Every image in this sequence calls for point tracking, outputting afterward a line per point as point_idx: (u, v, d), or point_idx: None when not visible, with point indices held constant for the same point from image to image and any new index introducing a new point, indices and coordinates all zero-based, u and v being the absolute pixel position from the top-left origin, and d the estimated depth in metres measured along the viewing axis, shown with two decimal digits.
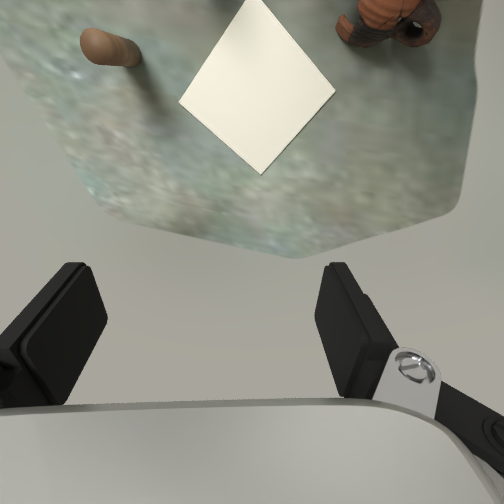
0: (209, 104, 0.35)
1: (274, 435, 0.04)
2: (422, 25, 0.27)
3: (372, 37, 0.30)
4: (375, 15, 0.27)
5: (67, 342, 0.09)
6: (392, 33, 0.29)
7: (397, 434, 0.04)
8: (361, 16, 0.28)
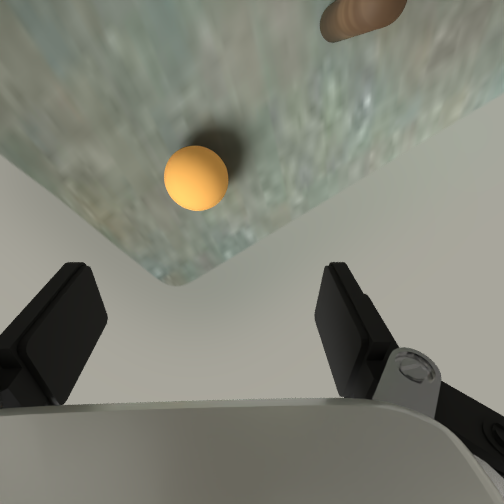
0: None
1: (274, 436, 0.04)
2: None
3: None
4: None
5: (67, 342, 0.09)
6: None
7: (397, 434, 0.04)
8: None
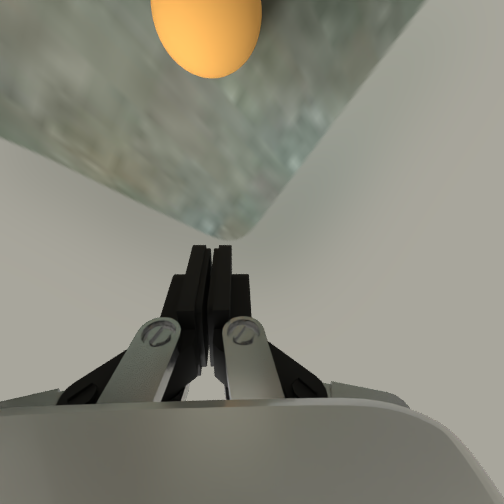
0: None
1: (274, 436, 0.04)
2: None
3: None
4: None
5: None
6: None
7: (397, 434, 0.04)
8: None
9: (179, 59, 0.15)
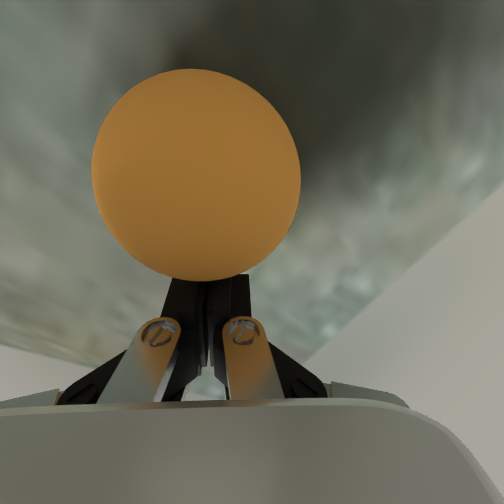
0: None
1: (274, 436, 0.04)
2: None
3: None
4: None
5: None
6: None
7: (397, 434, 0.04)
8: None
9: (147, 266, 0.08)
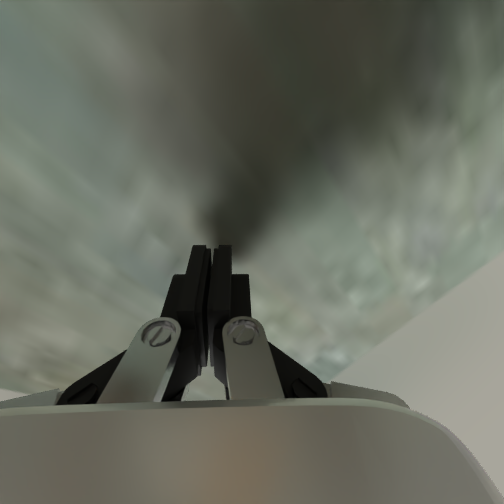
0: None
1: (274, 435, 0.04)
2: None
3: None
4: None
5: None
6: None
7: (397, 434, 0.04)
8: None
9: None
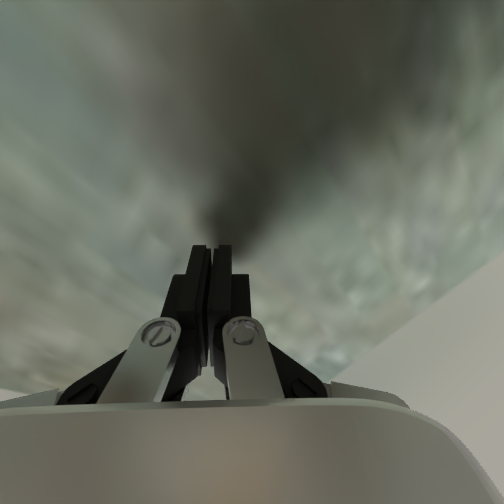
0: None
1: (274, 435, 0.04)
2: None
3: None
4: None
5: None
6: None
7: (397, 434, 0.04)
8: None
9: None
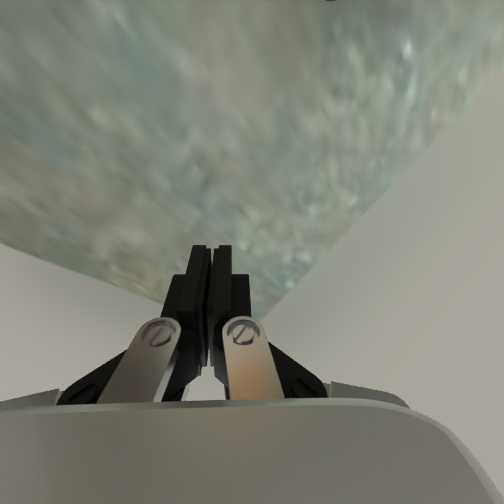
0: None
1: (274, 436, 0.04)
2: None
3: None
4: None
5: None
6: None
7: (397, 434, 0.04)
8: None
9: None
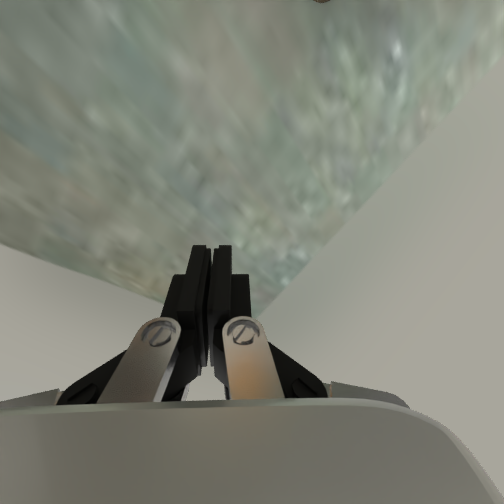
0: None
1: (274, 436, 0.04)
2: None
3: None
4: None
5: None
6: None
7: (397, 434, 0.04)
8: None
9: None
